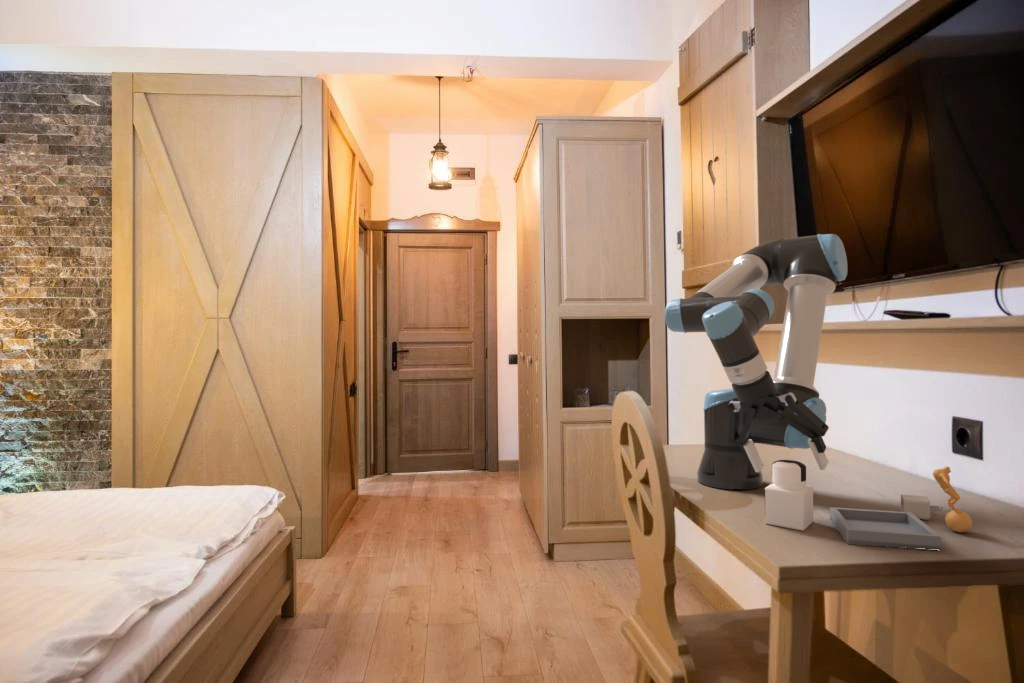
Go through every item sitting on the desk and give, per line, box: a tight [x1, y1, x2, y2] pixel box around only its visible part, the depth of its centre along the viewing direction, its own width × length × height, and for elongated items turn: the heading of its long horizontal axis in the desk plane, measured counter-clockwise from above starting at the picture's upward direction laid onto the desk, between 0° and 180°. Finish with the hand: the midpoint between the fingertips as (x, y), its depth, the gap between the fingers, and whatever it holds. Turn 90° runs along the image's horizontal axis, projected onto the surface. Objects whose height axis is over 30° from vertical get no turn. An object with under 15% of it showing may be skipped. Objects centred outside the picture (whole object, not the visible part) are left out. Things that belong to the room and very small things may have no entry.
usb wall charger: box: [900, 494, 946, 521], centre depth 120 cm, size 4×7×4 cm, turn 65°
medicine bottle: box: [764, 459, 814, 531], centre depth 117 cm, size 7×7×12 cm
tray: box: [829, 507, 942, 551], centre depth 110 cm, size 14×14×2 cm
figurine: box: [932, 466, 973, 533], centre depth 111 cm, size 8×6×12 cm
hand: (790, 467), depth 123 cm, fingers open, 13 cm apart
